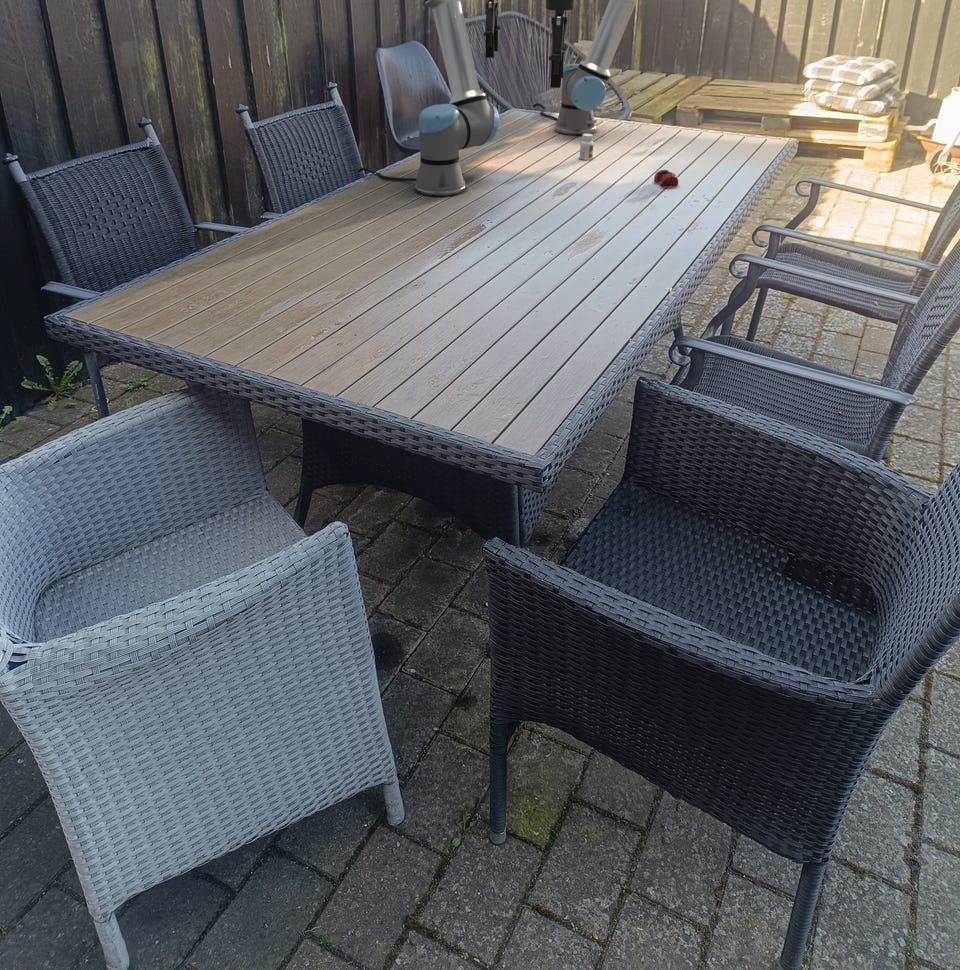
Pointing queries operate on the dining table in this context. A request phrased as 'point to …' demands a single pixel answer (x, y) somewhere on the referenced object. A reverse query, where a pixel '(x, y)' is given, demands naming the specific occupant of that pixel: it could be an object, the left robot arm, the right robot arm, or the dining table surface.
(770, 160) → the dining table surface
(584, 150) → the pill bottle
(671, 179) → the dark red rounded lump
